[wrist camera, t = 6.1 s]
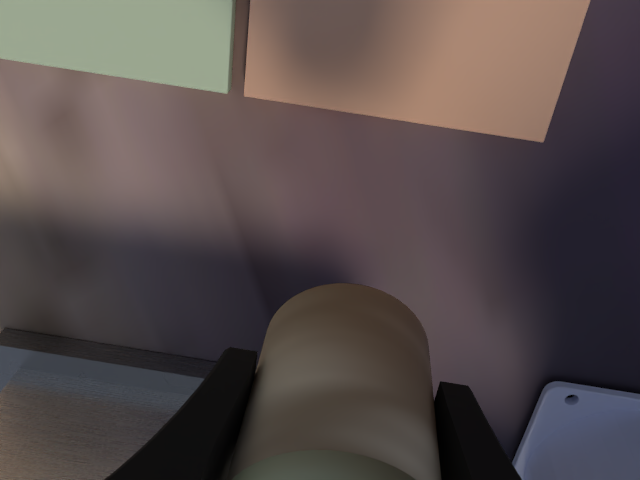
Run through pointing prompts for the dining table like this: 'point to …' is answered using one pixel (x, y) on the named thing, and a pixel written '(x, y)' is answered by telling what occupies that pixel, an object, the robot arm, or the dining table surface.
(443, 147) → the dining table surface
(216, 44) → the sage pad
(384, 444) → the fuse
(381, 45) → the terracotta pad
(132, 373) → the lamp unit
